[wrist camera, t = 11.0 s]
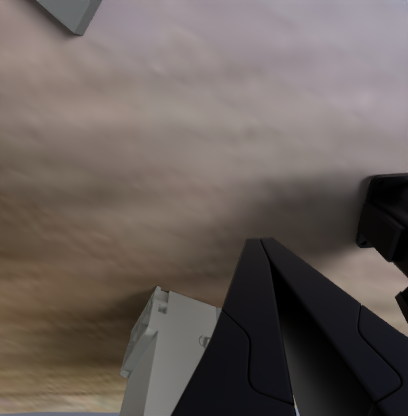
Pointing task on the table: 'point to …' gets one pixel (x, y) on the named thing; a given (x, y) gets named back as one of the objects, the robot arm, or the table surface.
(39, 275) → the table surface
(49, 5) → the din rail plate
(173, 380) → the circuit breaker
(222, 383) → the robot arm
